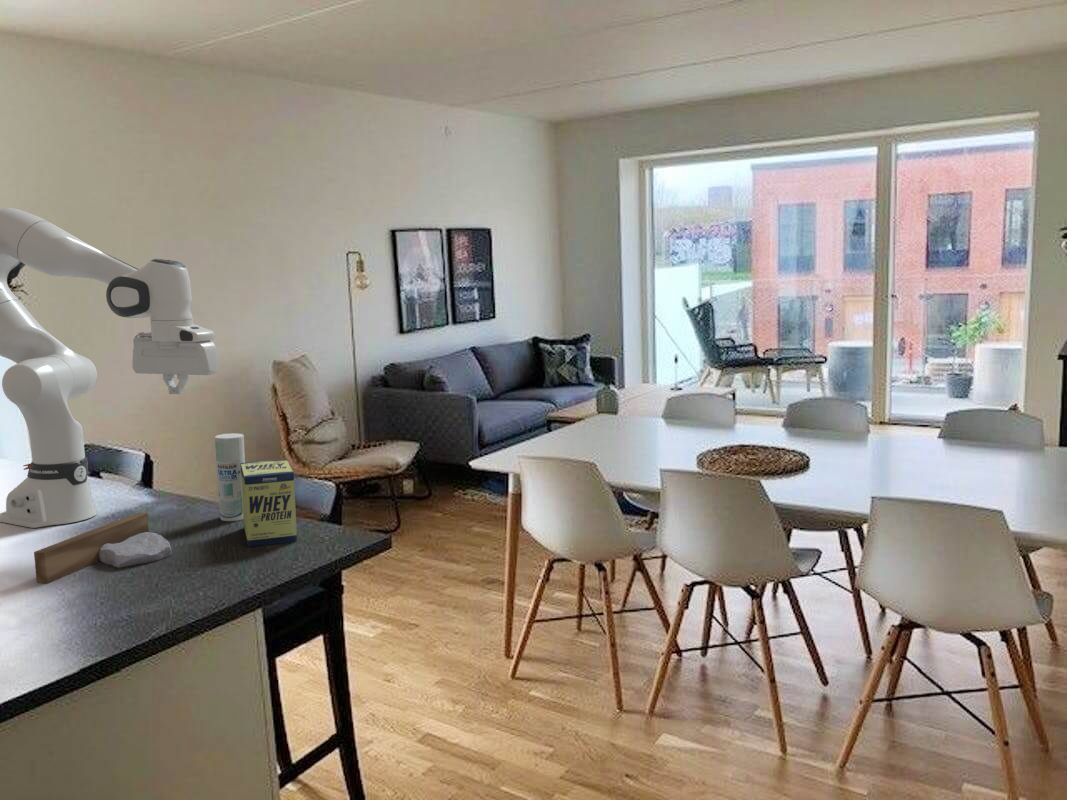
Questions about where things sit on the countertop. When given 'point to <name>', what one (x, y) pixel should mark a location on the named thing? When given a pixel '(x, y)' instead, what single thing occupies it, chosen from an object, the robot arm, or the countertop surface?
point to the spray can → (230, 475)
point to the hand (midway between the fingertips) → (176, 394)
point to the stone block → (135, 550)
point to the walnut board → (85, 548)
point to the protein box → (268, 502)
